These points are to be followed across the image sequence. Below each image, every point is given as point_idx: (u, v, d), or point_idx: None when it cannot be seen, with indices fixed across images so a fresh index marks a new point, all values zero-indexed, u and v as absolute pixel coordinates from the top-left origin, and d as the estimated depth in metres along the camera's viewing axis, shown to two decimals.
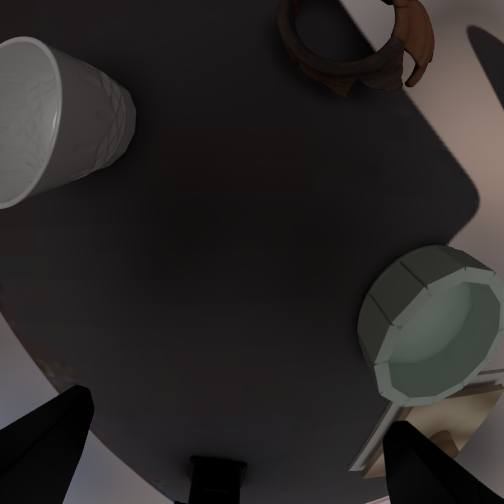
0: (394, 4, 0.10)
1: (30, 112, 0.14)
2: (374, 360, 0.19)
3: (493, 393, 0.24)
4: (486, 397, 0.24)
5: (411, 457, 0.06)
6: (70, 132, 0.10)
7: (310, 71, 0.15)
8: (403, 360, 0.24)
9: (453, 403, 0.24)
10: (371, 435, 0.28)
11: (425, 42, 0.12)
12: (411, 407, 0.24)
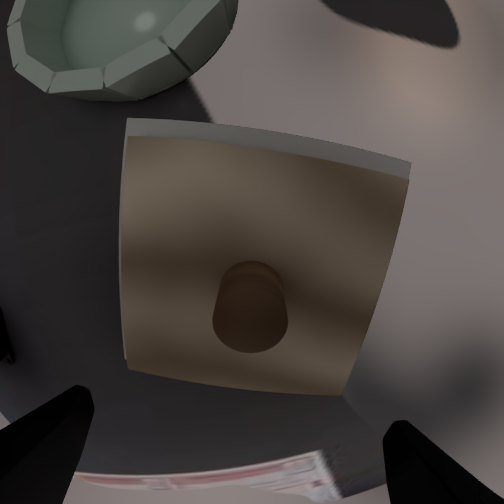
0: None
1: None
2: (9, 23, 0.09)
3: (372, 176, 0.14)
4: (353, 183, 0.14)
5: (411, 457, 0.06)
6: None
7: None
8: None
9: (237, 164, 0.14)
10: (120, 262, 0.18)
11: None
12: None
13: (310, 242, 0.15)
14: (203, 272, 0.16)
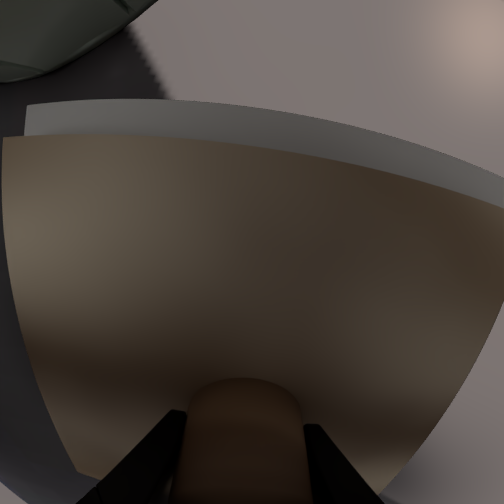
0: None
1: None
2: None
3: (482, 214, 0.06)
4: (452, 229, 0.06)
5: (312, 466, 0.06)
6: None
7: None
8: None
9: (207, 186, 0.06)
10: None
11: None
12: (6, 173, 0.06)
13: (361, 344, 0.07)
14: (156, 389, 0.08)
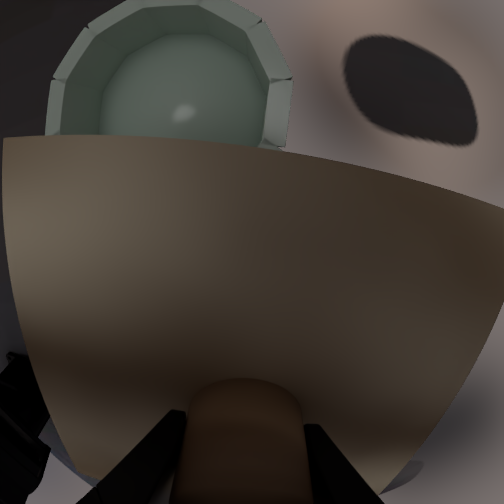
0: None
1: None
2: (46, 132, 0.13)
3: (483, 215, 0.06)
4: (452, 229, 0.06)
5: (312, 466, 0.06)
6: None
7: None
8: None
9: (208, 187, 0.06)
10: None
11: None
12: (6, 174, 0.06)
13: (361, 344, 0.07)
14: (156, 390, 0.08)
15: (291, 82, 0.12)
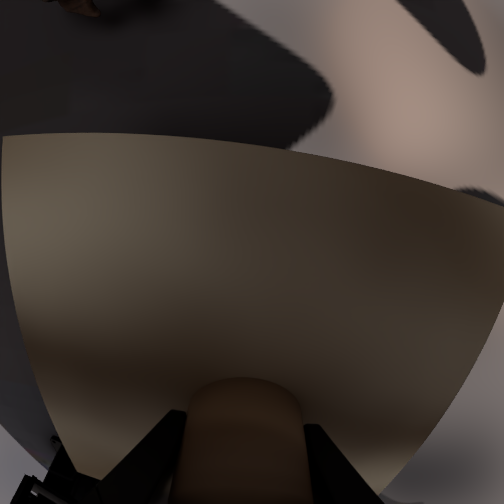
0: None
1: None
2: None
3: (483, 213, 0.06)
4: (452, 228, 0.06)
5: (312, 466, 0.06)
6: None
7: (62, 6, 0.09)
8: None
9: (207, 185, 0.06)
10: None
11: None
12: (6, 172, 0.06)
13: (361, 343, 0.07)
14: (156, 389, 0.08)
15: None
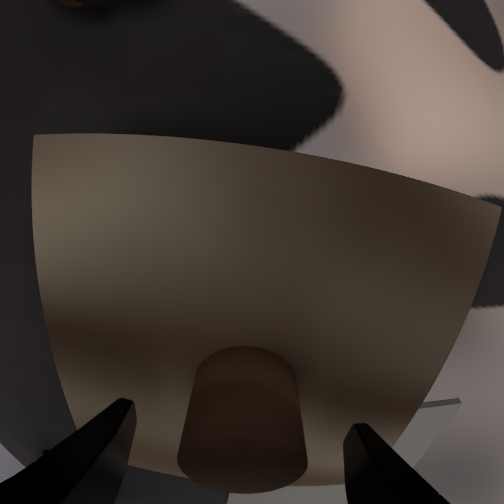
0: None
1: None
2: None
3: (454, 202, 0.07)
4: (425, 214, 0.07)
5: (367, 463, 0.06)
6: None
7: None
8: None
9: (215, 179, 0.07)
10: None
11: None
12: None
13: (347, 316, 0.08)
14: (167, 359, 0.09)
15: None
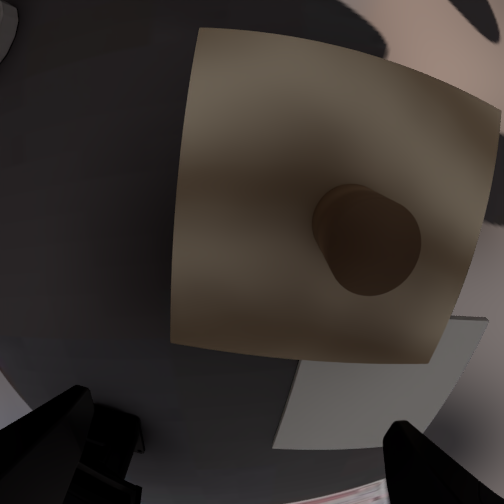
0: None
1: None
2: None
3: (471, 101, 0.10)
4: (455, 105, 0.10)
5: (411, 457, 0.06)
6: None
7: None
8: None
9: (338, 66, 0.10)
10: (289, 397, 0.23)
11: None
12: (196, 49, 0.10)
13: (418, 165, 0.11)
14: (292, 198, 0.12)
15: None
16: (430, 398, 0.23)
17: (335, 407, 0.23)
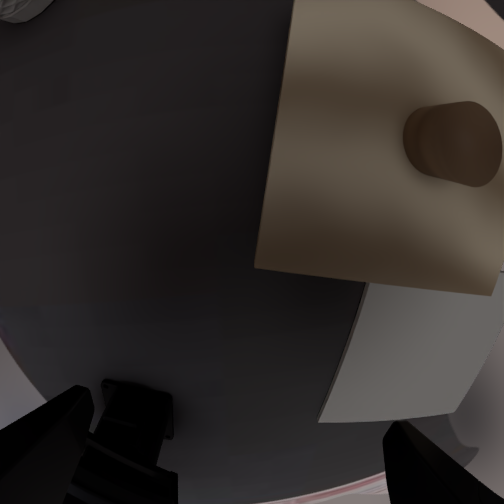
0: None
1: None
2: None
3: None
4: (498, 58, 0.10)
5: (411, 457, 0.06)
6: None
7: None
8: None
9: (413, 14, 0.10)
10: (343, 357, 0.22)
11: None
12: None
13: (477, 100, 0.11)
14: (386, 112, 0.11)
15: None
16: (472, 359, 0.22)
17: (387, 368, 0.22)
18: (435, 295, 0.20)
